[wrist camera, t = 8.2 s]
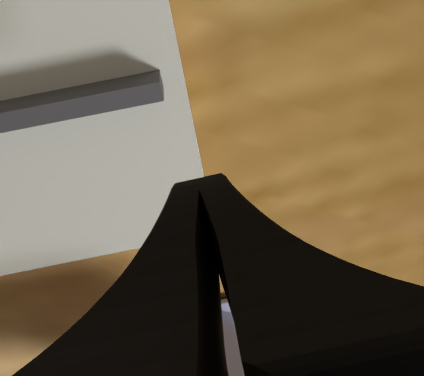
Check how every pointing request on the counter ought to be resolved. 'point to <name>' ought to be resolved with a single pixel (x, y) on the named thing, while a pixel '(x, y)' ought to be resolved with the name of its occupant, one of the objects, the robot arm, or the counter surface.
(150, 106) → the rail board
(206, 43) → the counter surface
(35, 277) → the counter surface
